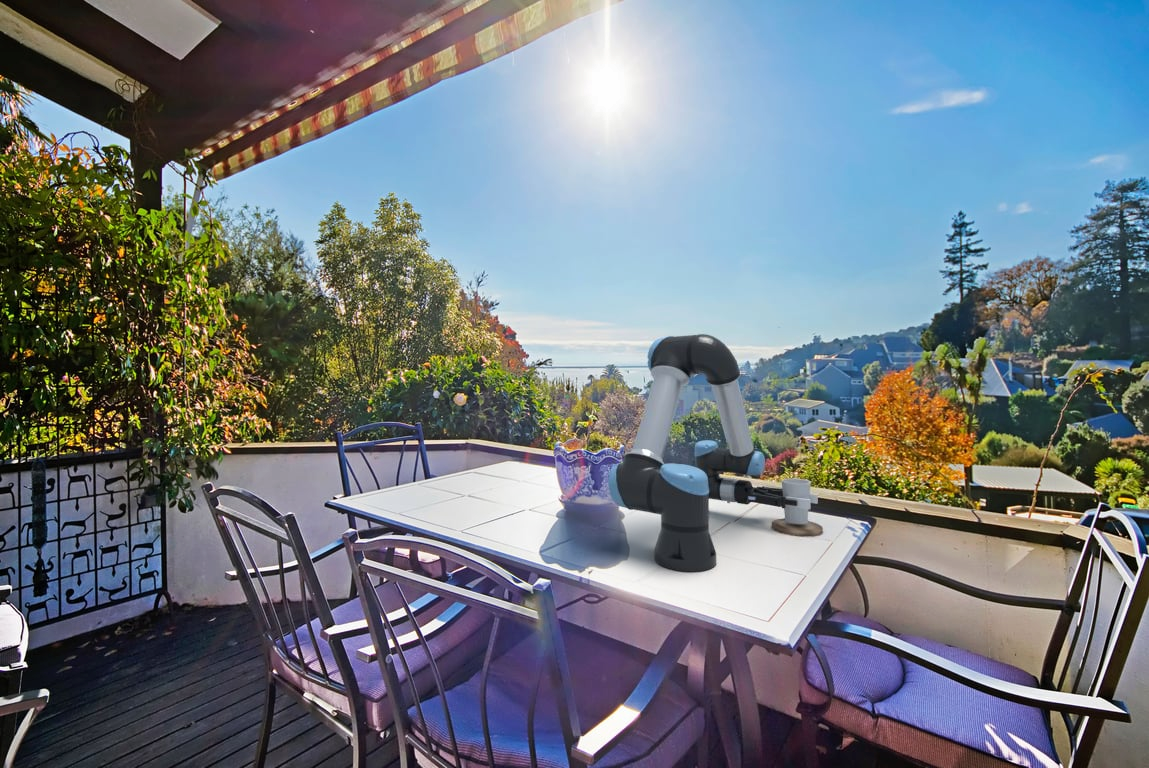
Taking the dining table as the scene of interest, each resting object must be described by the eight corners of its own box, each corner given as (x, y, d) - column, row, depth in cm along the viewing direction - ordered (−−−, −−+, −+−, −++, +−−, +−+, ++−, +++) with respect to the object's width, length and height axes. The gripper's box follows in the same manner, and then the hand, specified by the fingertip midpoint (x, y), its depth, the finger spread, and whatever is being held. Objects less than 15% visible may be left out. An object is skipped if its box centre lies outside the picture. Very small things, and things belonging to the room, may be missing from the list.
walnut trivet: (792, 538, 137) (792, 533, 137) (761, 524, 151) (761, 520, 151) (833, 534, 141) (833, 529, 141) (800, 520, 154) (800, 516, 154)
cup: (807, 526, 140) (807, 485, 140) (778, 522, 145) (778, 481, 145) (813, 520, 147) (813, 480, 146) (785, 515, 151) (785, 477, 151)
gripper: (748, 496, 165) (822, 507, 150) (724, 509, 149) (804, 522, 135) (748, 474, 165) (822, 483, 150) (724, 484, 149) (804, 495, 135)
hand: (813, 501), depth 143 cm, fingers closed on cup, 7 cm apart
